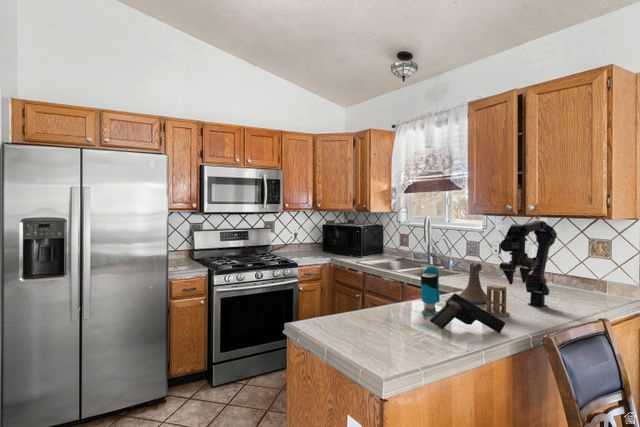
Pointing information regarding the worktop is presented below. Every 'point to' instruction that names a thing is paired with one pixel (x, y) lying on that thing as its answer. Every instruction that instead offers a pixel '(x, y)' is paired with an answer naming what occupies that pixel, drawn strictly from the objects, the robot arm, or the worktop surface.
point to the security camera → (430, 290)
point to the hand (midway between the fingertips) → (517, 283)
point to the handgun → (465, 314)
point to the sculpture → (474, 286)
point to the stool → (496, 298)
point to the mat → (499, 314)
